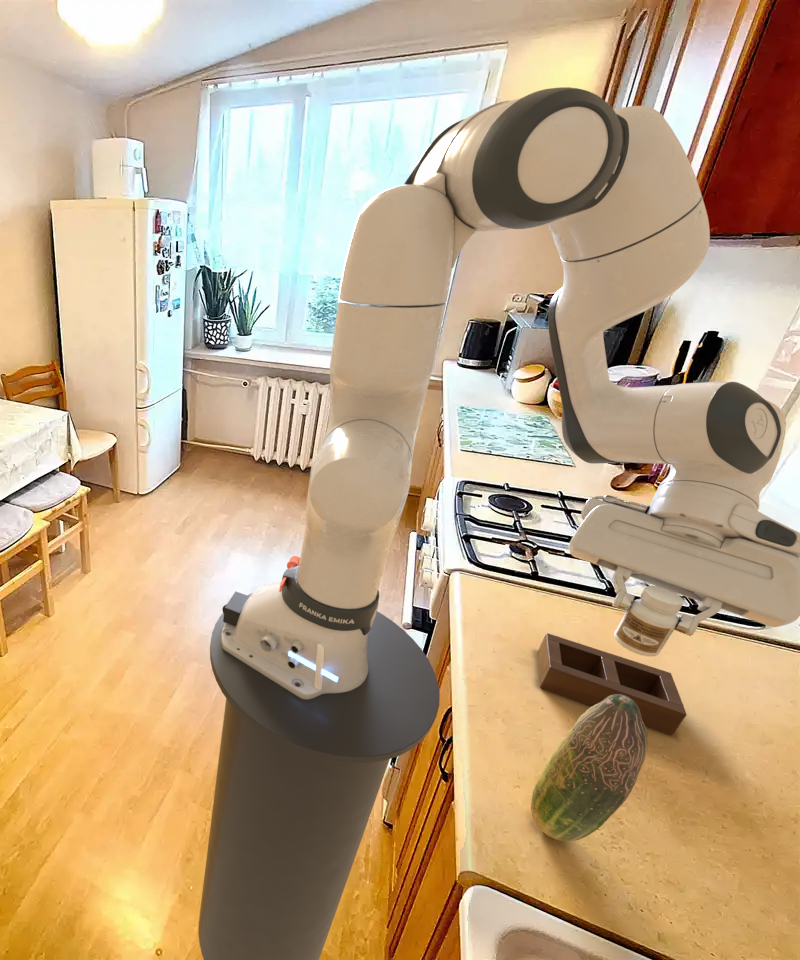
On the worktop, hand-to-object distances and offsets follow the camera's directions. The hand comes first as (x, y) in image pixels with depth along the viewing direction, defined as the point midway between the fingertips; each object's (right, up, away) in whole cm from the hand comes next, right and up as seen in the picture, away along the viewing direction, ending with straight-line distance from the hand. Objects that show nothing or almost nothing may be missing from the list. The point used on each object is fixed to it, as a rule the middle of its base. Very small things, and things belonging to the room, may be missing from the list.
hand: (651, 619), depth 61 cm
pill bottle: (0, -4, +3) cm, 5 cm away
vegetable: (-15, -22, -5) cm, 27 cm away
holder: (+4, -13, +12) cm, 19 cm away
